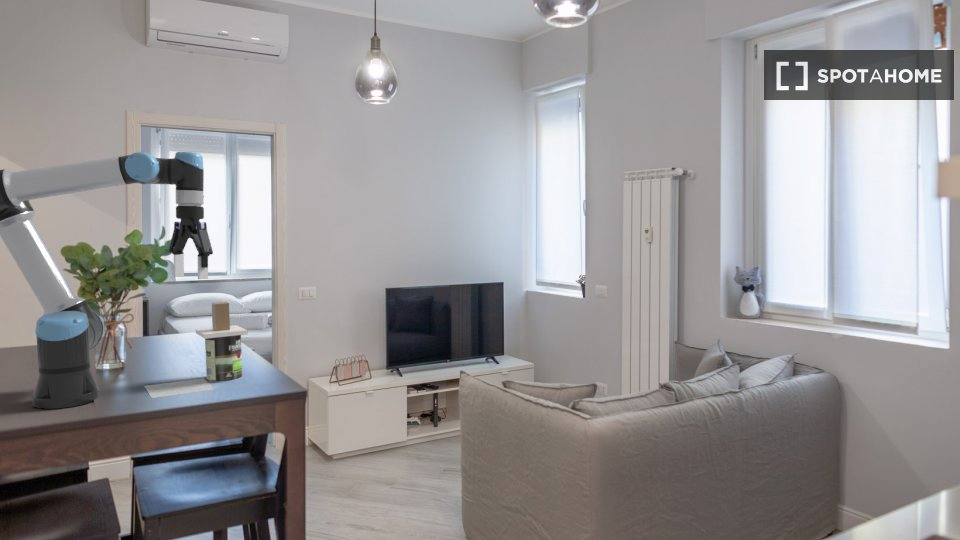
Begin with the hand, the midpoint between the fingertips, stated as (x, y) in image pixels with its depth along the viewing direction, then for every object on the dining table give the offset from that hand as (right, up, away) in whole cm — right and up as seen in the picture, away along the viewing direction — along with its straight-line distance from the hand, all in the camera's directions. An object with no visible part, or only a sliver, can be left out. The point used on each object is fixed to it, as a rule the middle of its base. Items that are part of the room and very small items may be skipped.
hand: (190, 277), depth 196 cm
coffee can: (+9, -31, +3) cm, 32 cm away
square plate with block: (+8, -17, +2) cm, 19 cm away
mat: (0, -32, -8) cm, 33 cm away
